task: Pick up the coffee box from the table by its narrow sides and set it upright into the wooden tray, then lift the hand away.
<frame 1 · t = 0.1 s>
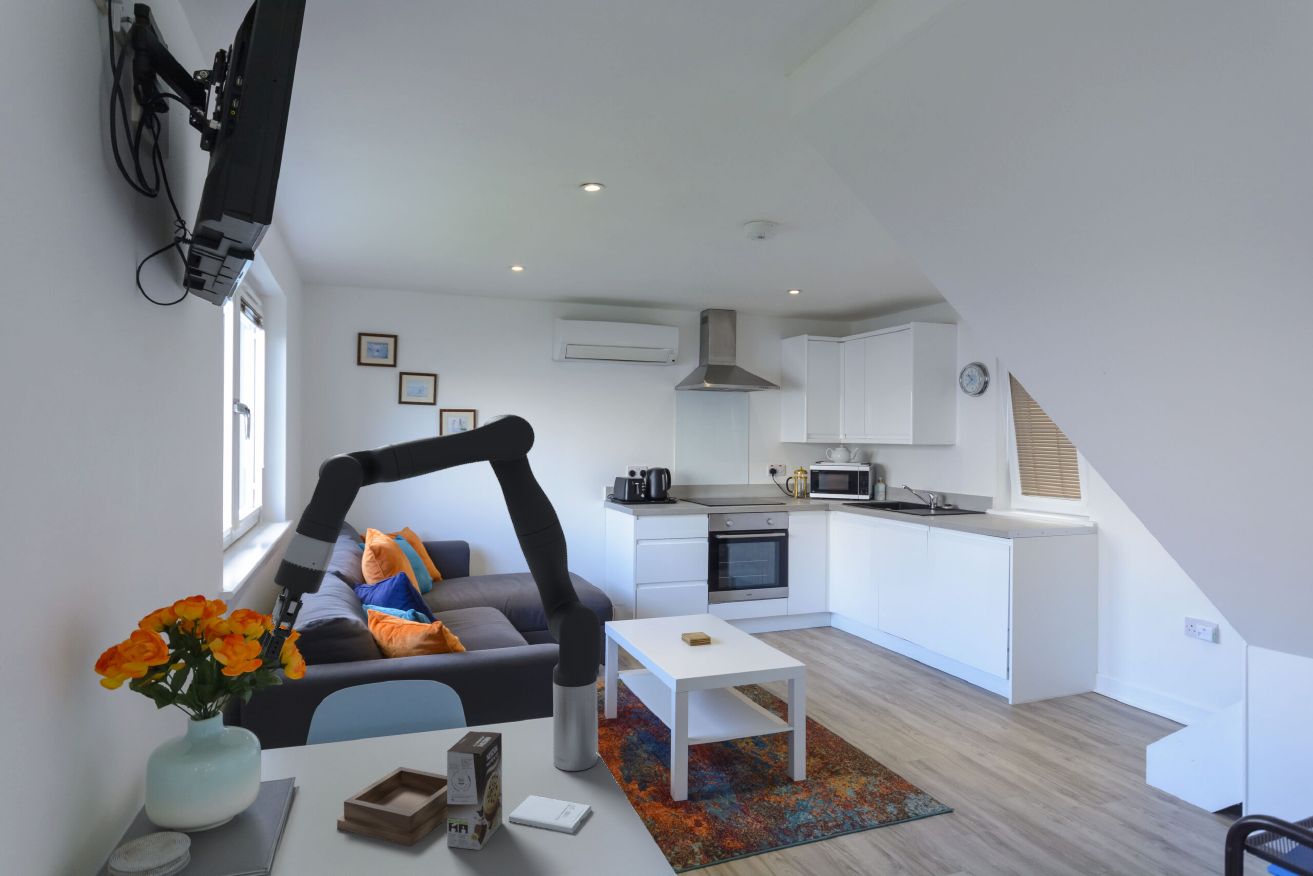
hand: (269, 652, 127), 31 cm above the table, tool tilted 20°, fingers open, 8 cm apart
external hard drive: (550, 819, 132), on the table
wooden tray: (405, 814, 133), on the table
coffee box: (475, 835, 126), on the table
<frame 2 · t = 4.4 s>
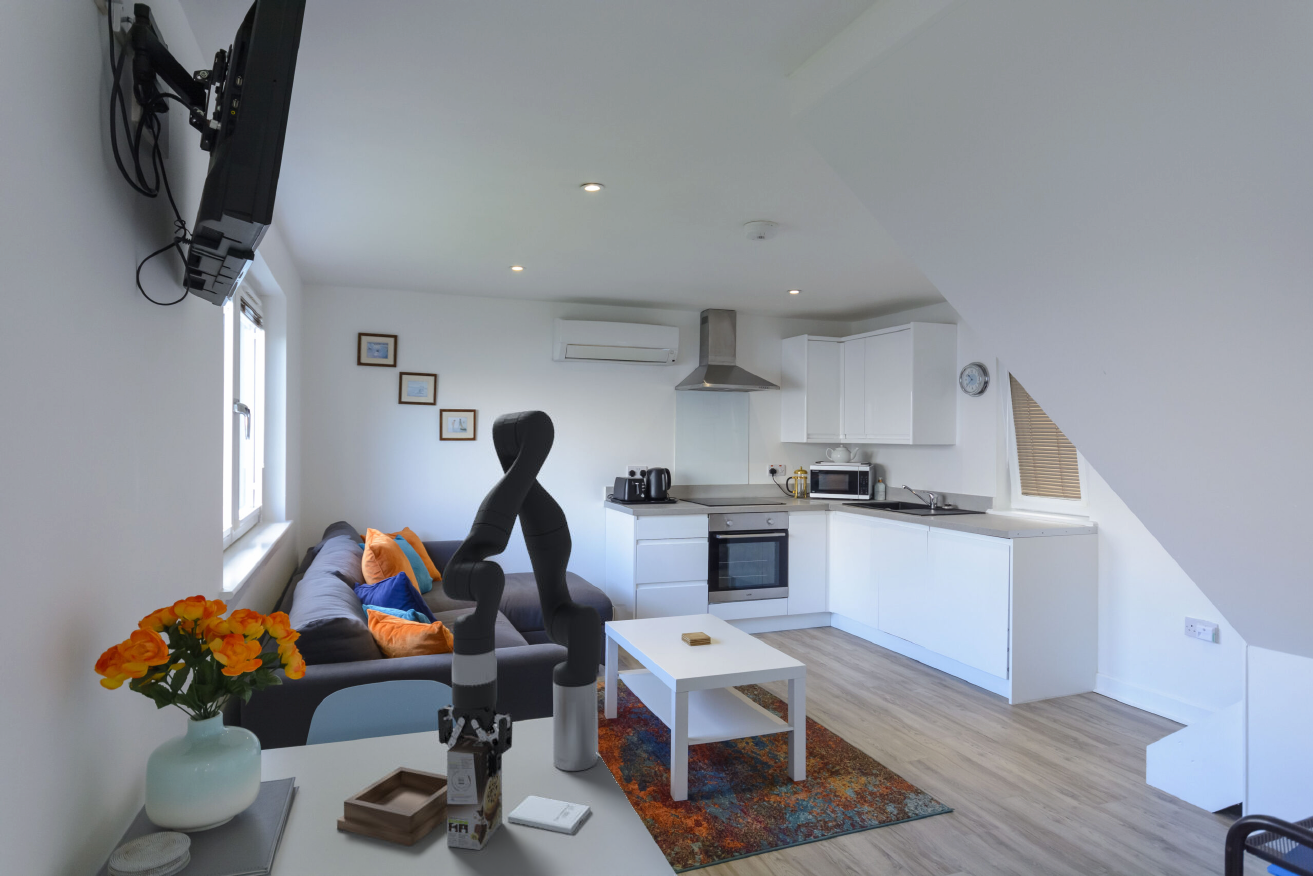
hand: (475, 771, 126), 11 cm above the table, tool pointing down, fingers closed on coffee box, 7 cm apart
coffee box: (475, 835, 126), on the table, touching gripper
everything else where it was.
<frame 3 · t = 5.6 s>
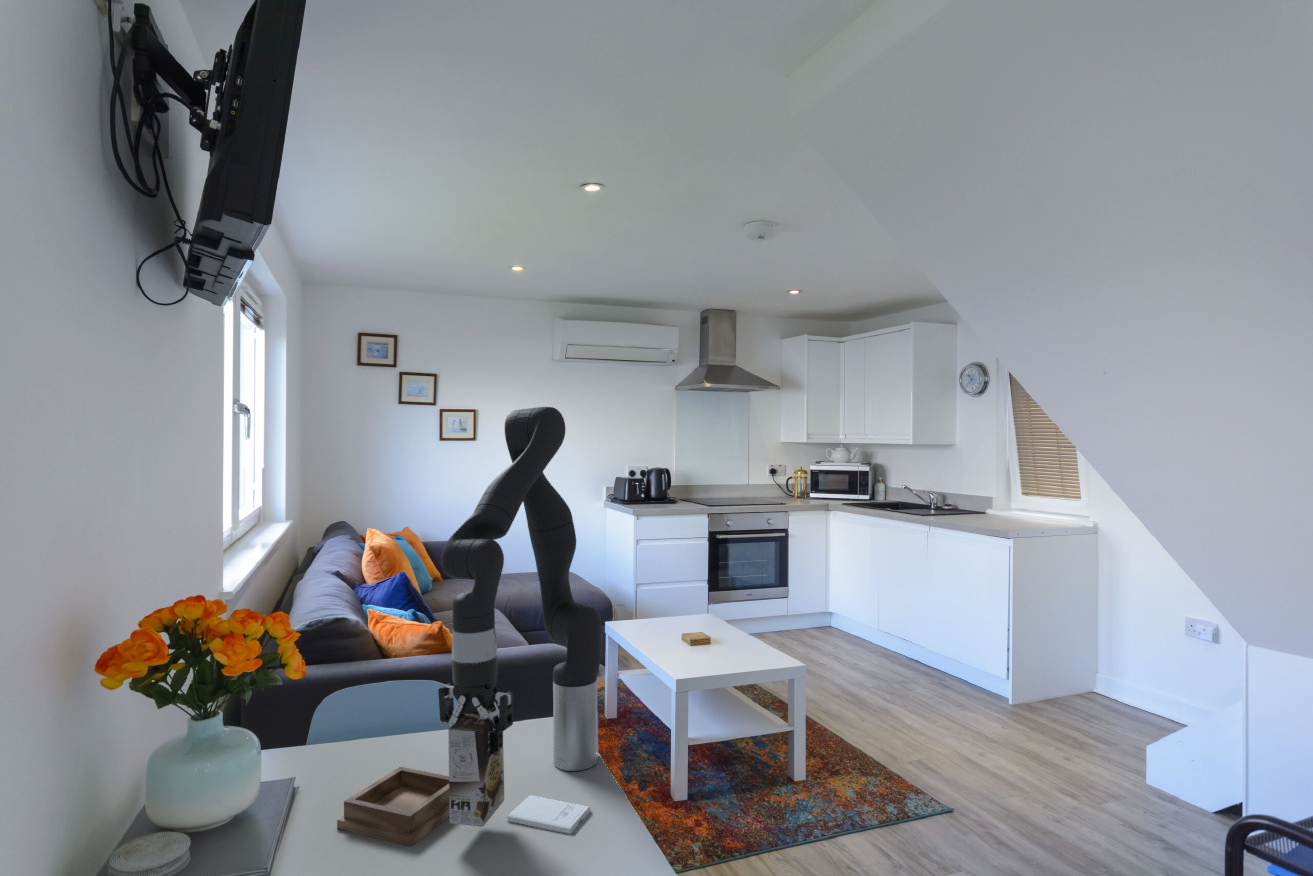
hand: (476, 749, 126), 15 cm above the table, tool pointing down, fingers closed on coffee box, 7 cm apart
coffee box: (478, 813, 126), point 4 cm above the table, touching gripper
everything else where it was.
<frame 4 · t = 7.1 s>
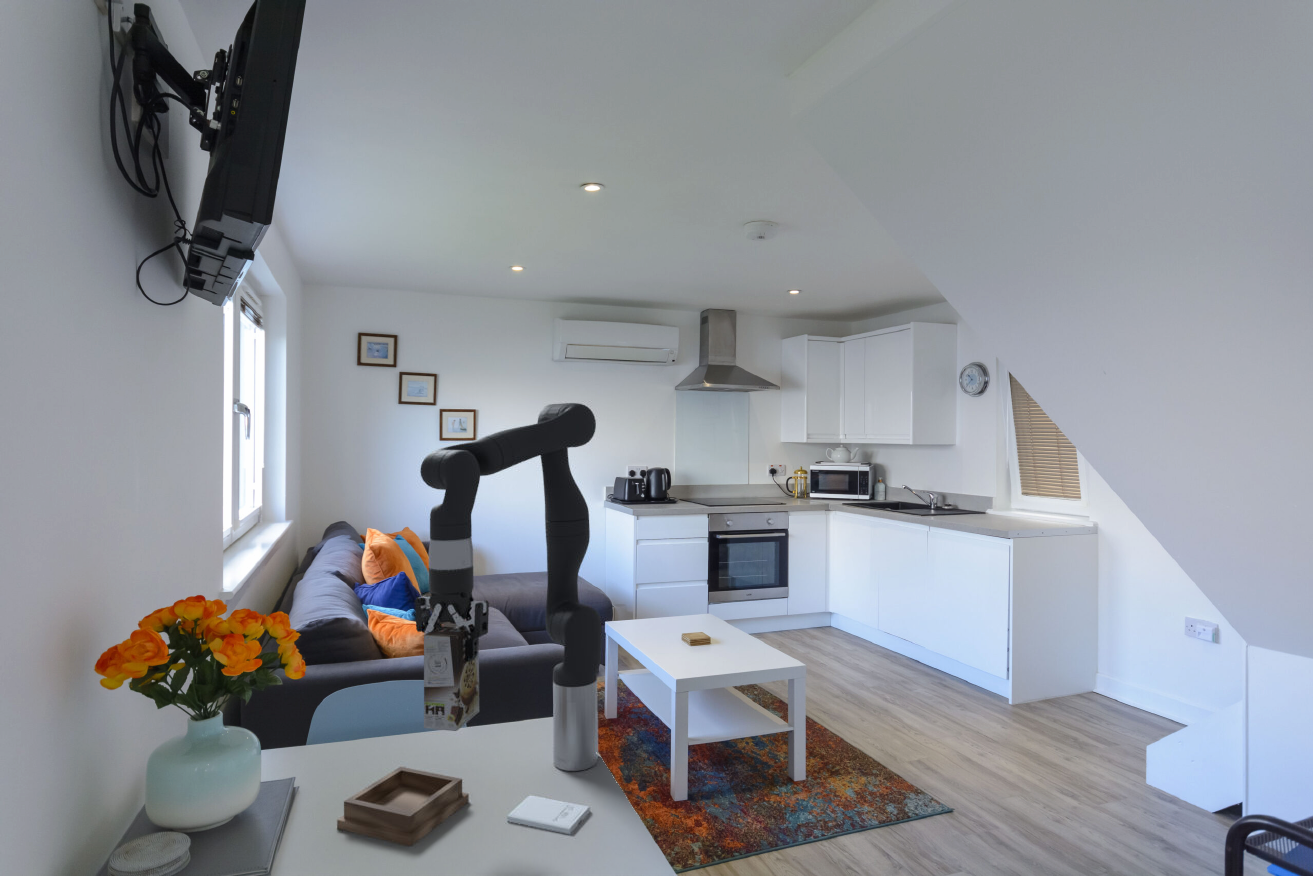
hand: (452, 658, 128), 30 cm above the table, tool pointing down, fingers closed on coffee box, 7 cm apart
coffee box: (452, 721, 128), point 19 cm above the table, touching gripper
everything else where it was.
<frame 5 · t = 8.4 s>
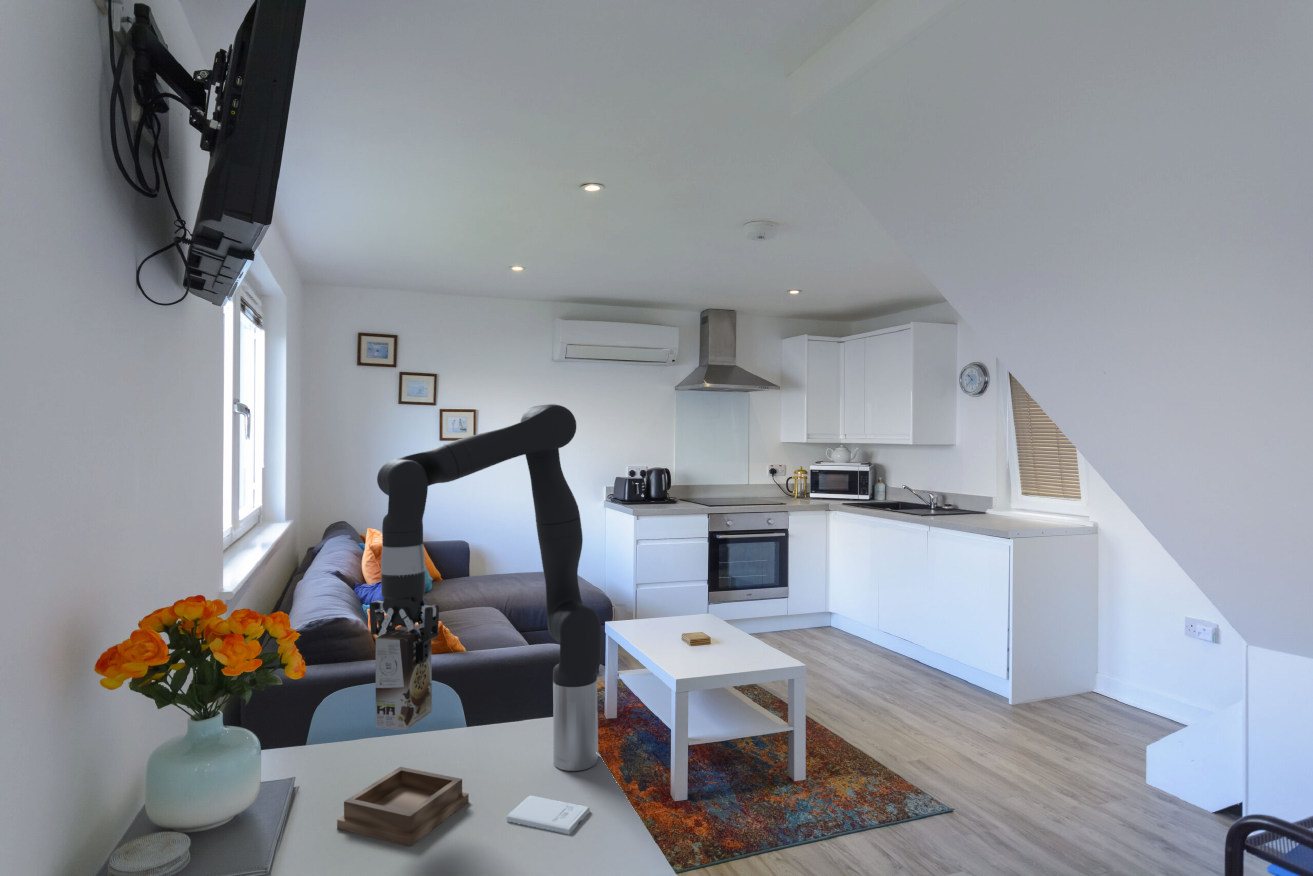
hand: (404, 660, 133), 28 cm above the table, tool pointing down, fingers closed on coffee box, 7 cm apart
coffee box: (405, 721, 133), point 17 cm above the table, touching gripper
everything else where it was.
when the fingers open (14 cm above the table, at t = 11.9 s): coffee box drops 1 cm, resting on wooden tray.
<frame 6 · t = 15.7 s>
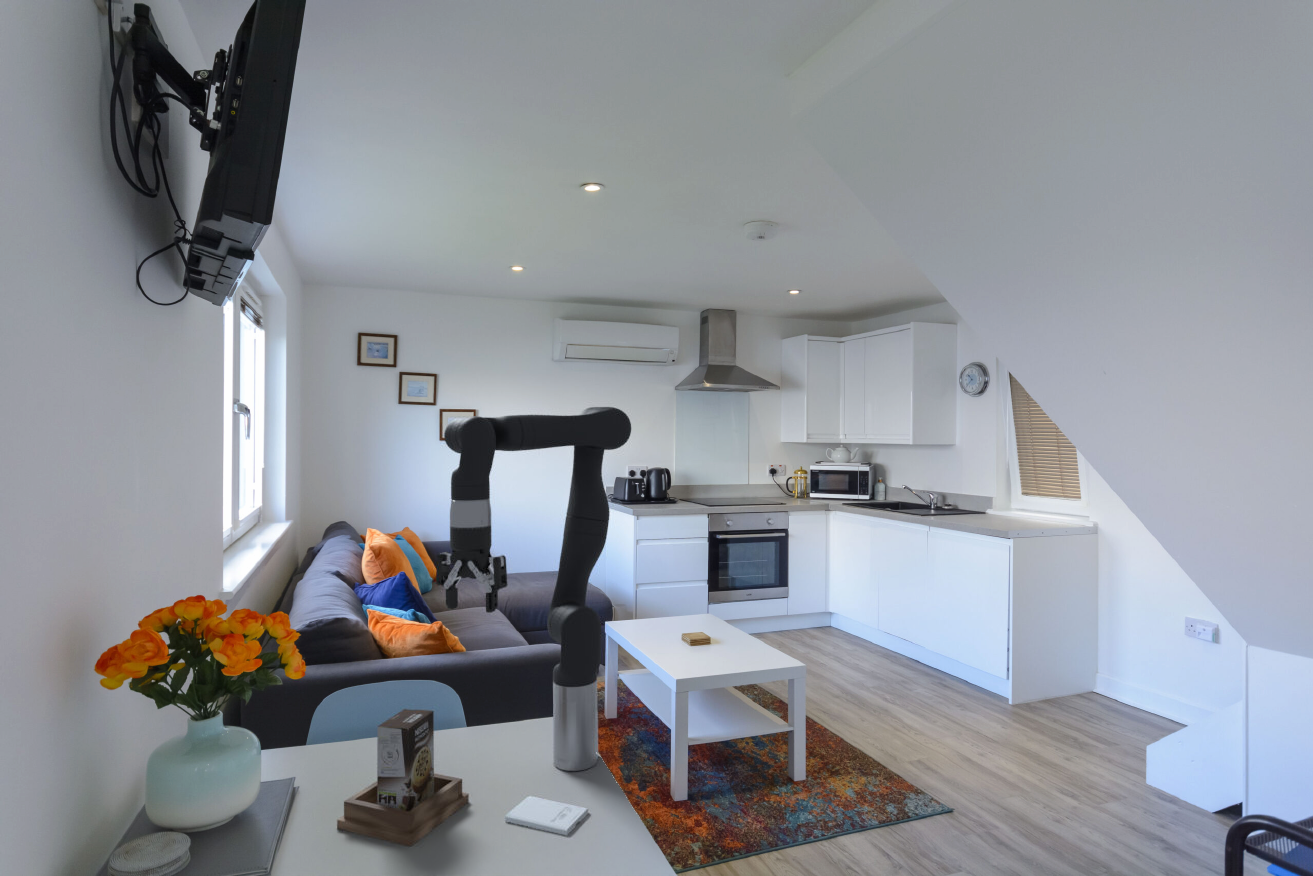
hand: (471, 610, 137), 36 cm above the table, tool pointing down, fingers open, 8 cm apart
coffee box: (406, 807, 133), point 1 cm above the table, touching wooden tray
everything else where it was.
at the end: coffee box 0.3 cm off-centre on the wooden tray, point 1.3 cm above the wooden tray's base; coffee box tilted 0°; the gripper is holding nothing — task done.
